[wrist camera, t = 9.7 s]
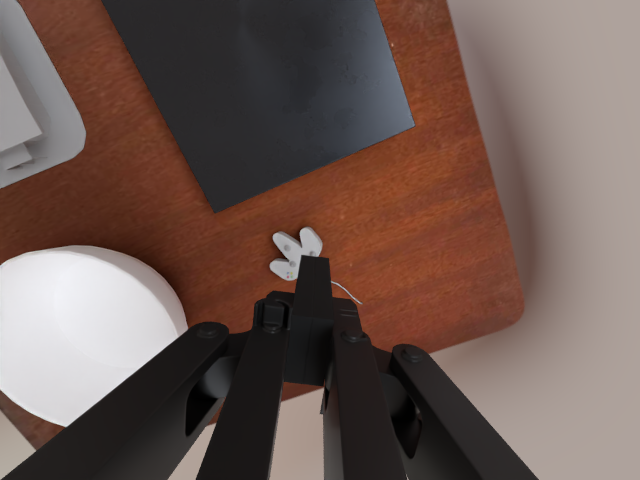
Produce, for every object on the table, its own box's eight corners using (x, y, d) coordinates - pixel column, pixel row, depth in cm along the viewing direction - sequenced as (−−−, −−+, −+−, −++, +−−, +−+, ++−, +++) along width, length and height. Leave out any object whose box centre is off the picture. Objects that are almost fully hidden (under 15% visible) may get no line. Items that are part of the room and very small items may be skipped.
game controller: (282, 214, 32) (280, 219, 30) (385, 257, 34) (391, 266, 31) (262, 263, 34) (258, 272, 31) (361, 302, 35) (365, 314, 33)
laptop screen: (287, -256, 21) (285, -273, 20) (413, 126, 27) (415, 126, 26) (56, -95, 24) (45, -103, 23) (218, 211, 30) (214, 213, 30)
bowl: (145, 196, 32) (97, 211, 25) (239, 341, 36) (220, 388, 30) (2, 273, 34) (-79, 306, 27) (107, 400, 39) (61, 456, 32)
